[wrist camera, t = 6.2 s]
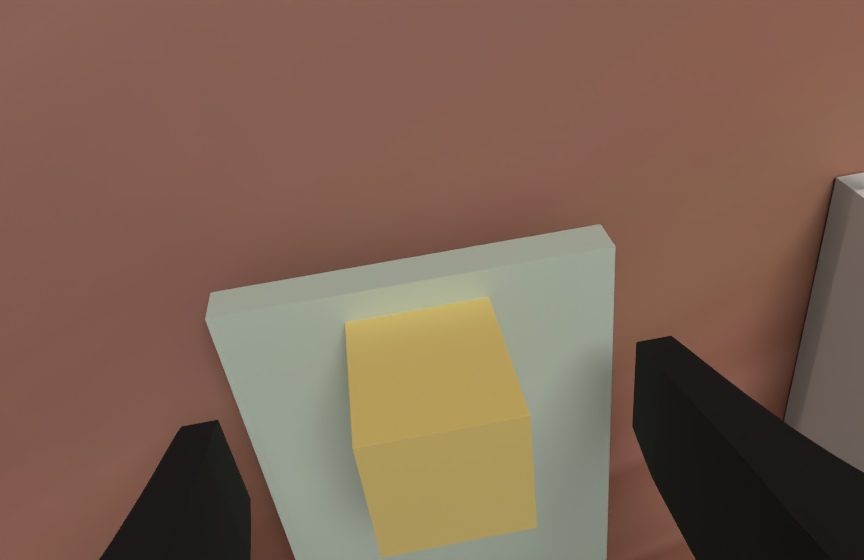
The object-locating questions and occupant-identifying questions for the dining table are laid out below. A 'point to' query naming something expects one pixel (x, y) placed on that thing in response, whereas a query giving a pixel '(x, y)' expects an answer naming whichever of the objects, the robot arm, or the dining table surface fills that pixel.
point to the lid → (433, 400)
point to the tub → (835, 335)
